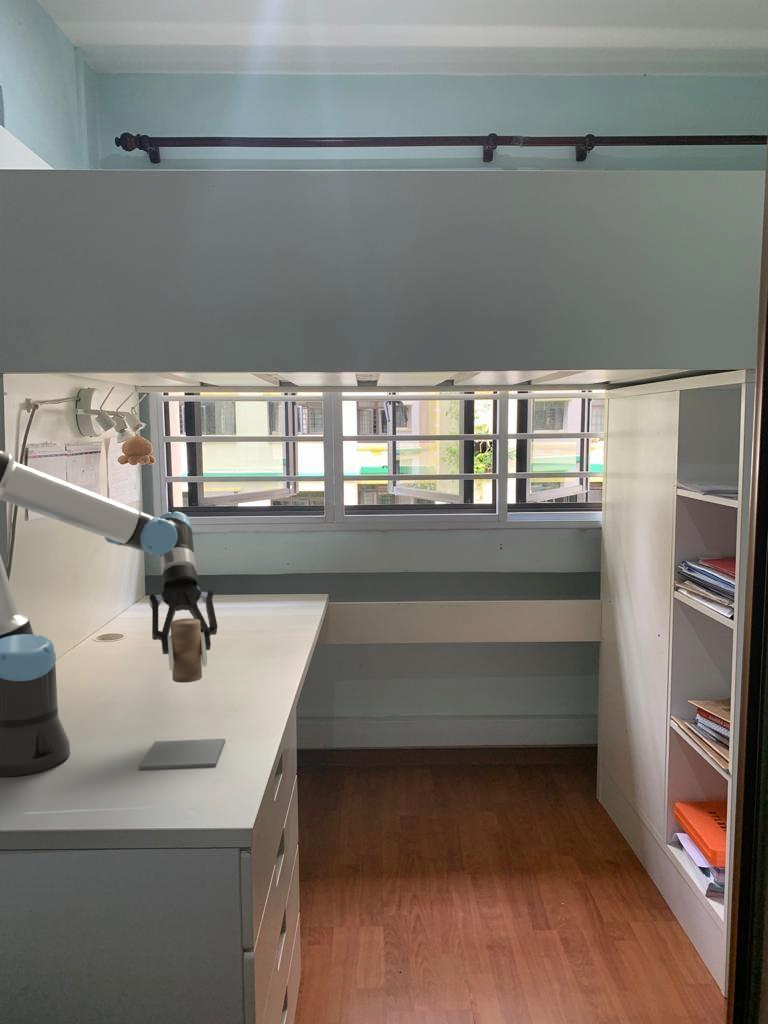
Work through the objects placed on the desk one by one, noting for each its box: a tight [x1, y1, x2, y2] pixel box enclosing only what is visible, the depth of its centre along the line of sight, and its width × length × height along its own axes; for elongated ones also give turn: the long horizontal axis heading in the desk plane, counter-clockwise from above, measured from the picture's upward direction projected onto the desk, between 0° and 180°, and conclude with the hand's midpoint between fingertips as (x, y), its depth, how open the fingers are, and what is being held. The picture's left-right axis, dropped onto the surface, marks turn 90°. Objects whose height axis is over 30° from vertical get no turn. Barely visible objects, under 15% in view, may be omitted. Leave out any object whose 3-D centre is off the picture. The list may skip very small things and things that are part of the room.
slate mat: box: [139, 738, 226, 770], centre depth 148 cm, size 14×12×1 cm
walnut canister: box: [170, 618, 203, 683], centre depth 159 cm, size 6×6×12 cm
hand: (188, 664), depth 156 cm, fingers closed on walnut canister, 6 cm apart
